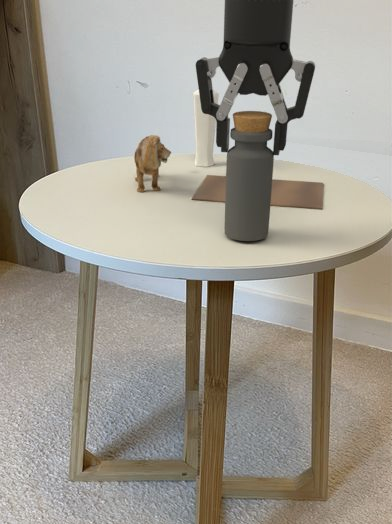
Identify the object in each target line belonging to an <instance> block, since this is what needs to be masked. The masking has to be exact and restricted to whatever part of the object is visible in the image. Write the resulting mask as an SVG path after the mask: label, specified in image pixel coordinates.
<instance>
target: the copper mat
mask: <svg viewBox="0 0 392 524" xmlns="http://www.w3.org/2000/svg"><path fill="white" fill-rule="evenodd" d="M225 192H226V175H217V174H216V175H215V174H213V175H212V174H207V175H206V176H205V178H204V179H203V180H202V182H201V184H200V185H199V186H198V188H197V189H196V191H195V193H194V194H193V196H192V197H191V201H203V202H215V203H225ZM323 195H324V182H321V181H320V182H318V181H304V180H302V181H301V180H292V179H291V180H288V179H287V180H286V179H274V178H272V191H271V204H270V207H284V208H298V209H312V210H323Z"/></svg>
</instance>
